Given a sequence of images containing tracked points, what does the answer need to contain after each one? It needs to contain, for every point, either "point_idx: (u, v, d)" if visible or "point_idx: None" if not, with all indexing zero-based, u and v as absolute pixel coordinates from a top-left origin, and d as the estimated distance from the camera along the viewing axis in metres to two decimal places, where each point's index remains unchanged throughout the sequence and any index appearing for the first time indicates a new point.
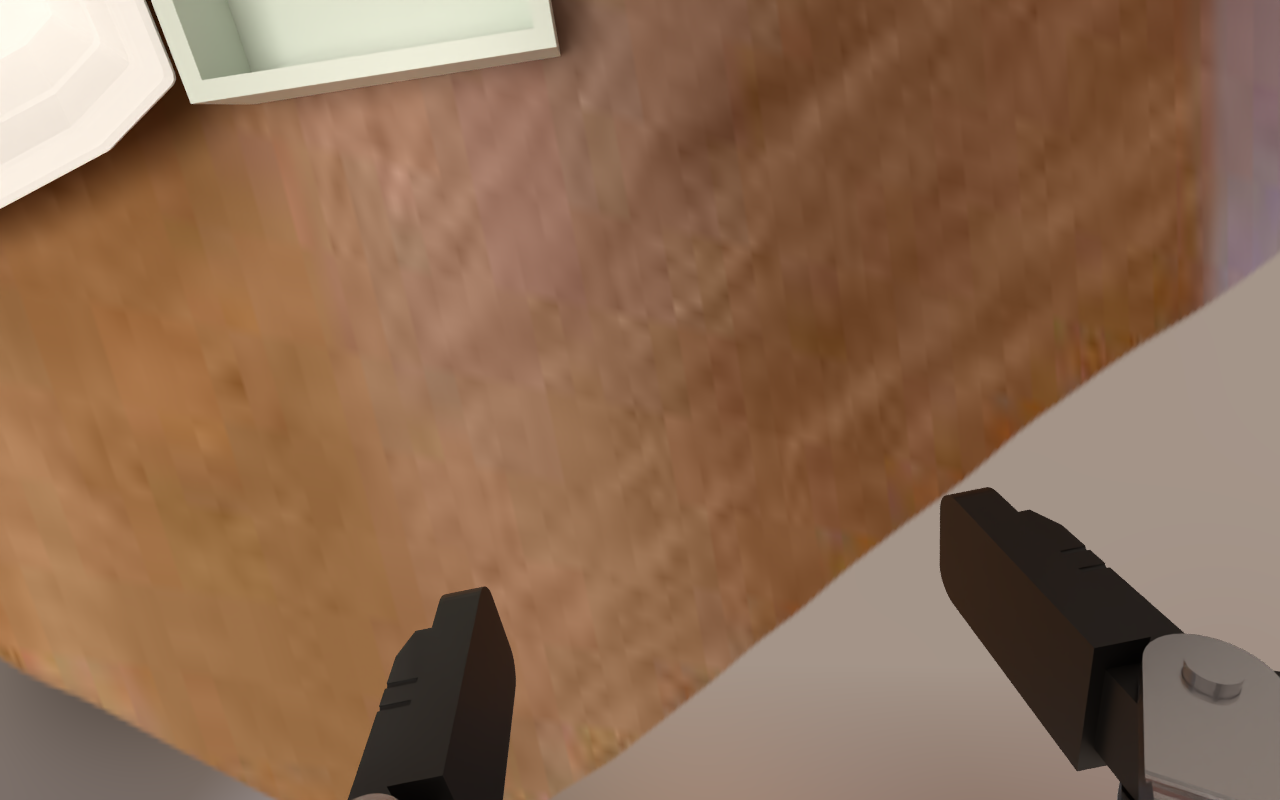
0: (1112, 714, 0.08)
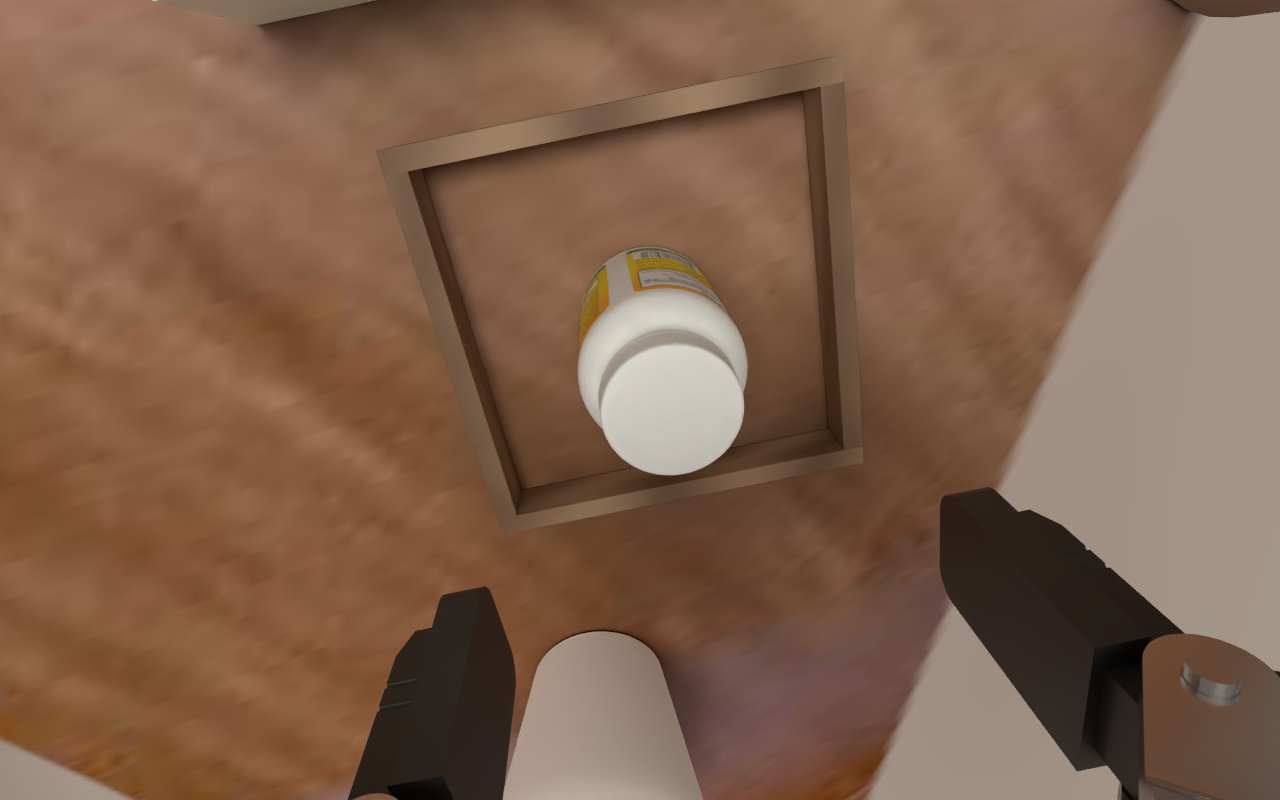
0: (1112, 714, 0.08)
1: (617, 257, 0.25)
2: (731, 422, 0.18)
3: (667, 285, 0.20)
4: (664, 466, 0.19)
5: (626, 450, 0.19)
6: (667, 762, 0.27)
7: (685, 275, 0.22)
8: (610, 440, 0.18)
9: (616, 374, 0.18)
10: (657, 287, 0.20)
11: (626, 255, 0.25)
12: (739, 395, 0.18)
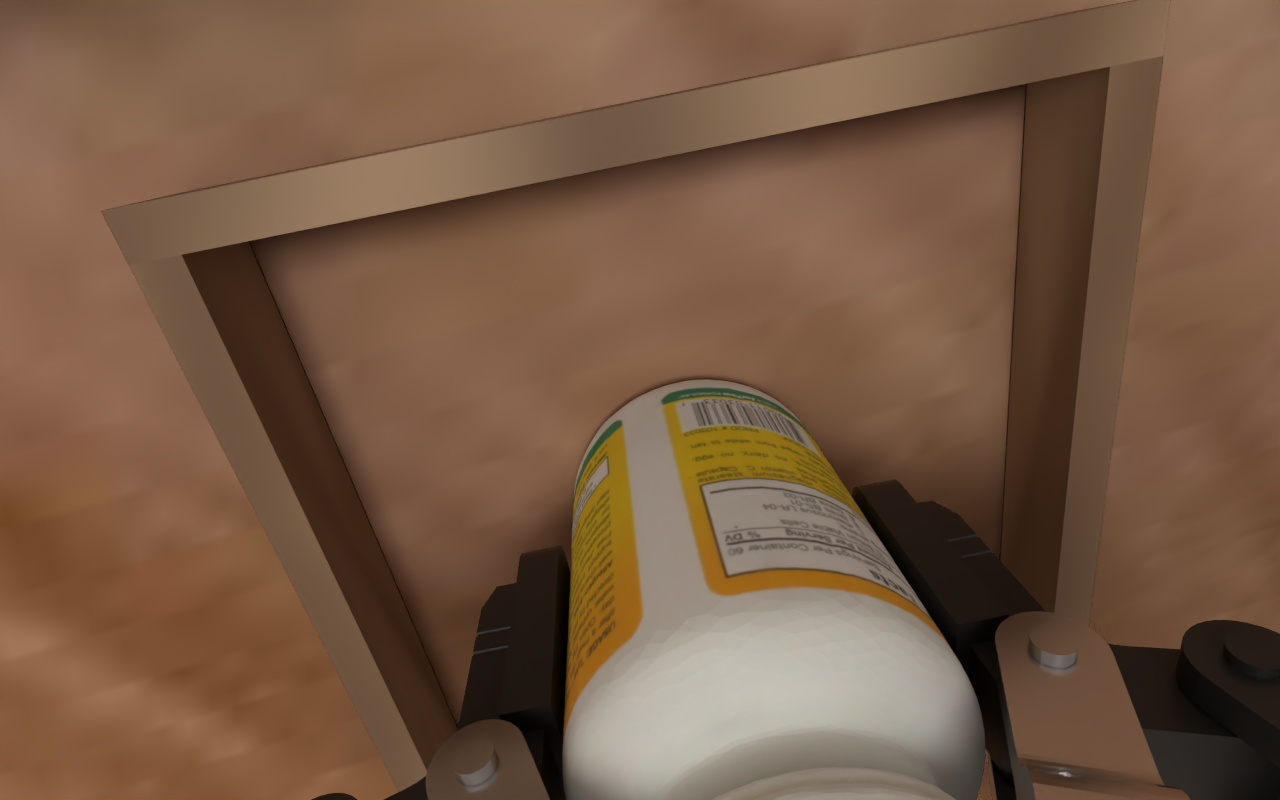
0: (977, 686, 0.09)
1: (645, 407, 0.13)
2: None
3: (793, 573, 0.08)
4: None
5: None
6: None
7: (810, 496, 0.10)
8: None
9: None
10: (768, 581, 0.08)
11: (664, 407, 0.12)
12: None
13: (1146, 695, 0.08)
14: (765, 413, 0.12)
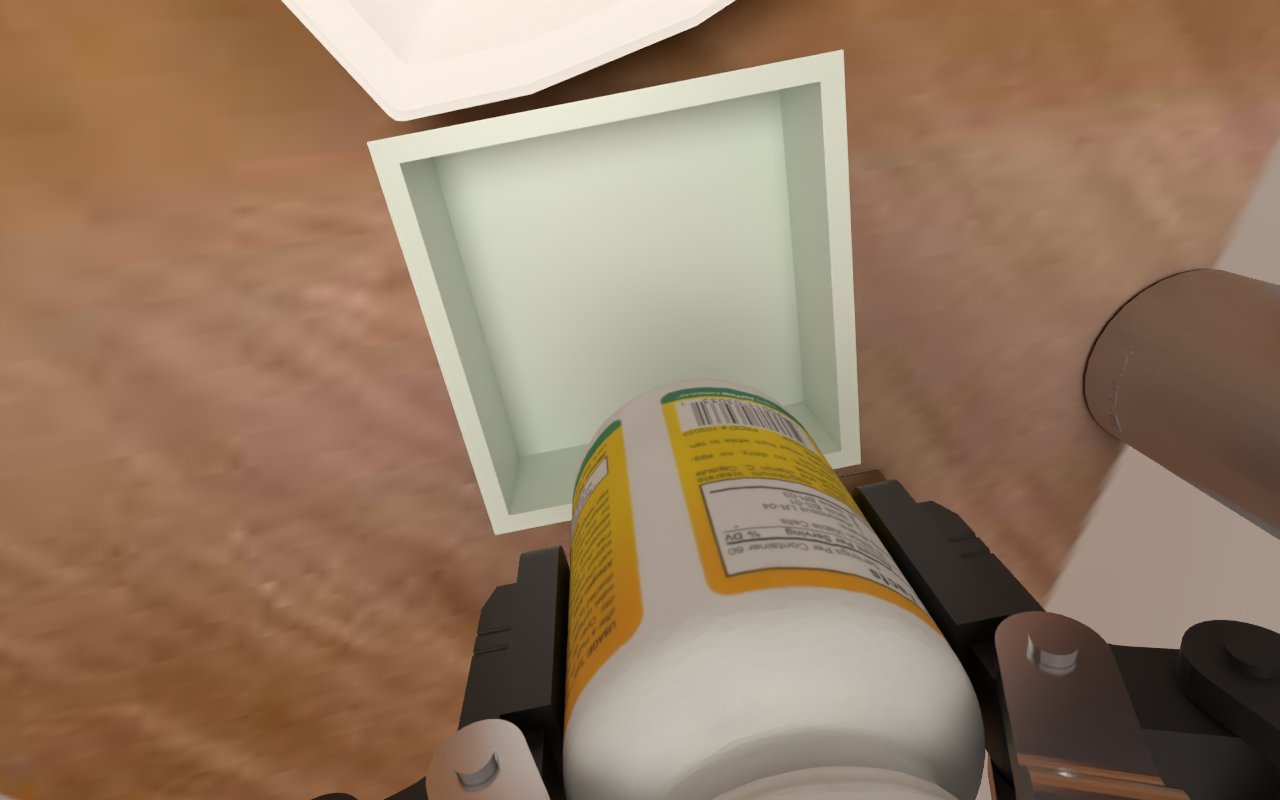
0: (976, 686, 0.09)
1: (644, 406, 0.13)
2: None
3: (793, 572, 0.08)
4: None
5: None
6: None
7: (810, 496, 0.10)
8: None
9: None
10: (769, 580, 0.08)
11: (663, 407, 0.12)
12: None
13: (1146, 695, 0.08)
14: (764, 413, 0.12)
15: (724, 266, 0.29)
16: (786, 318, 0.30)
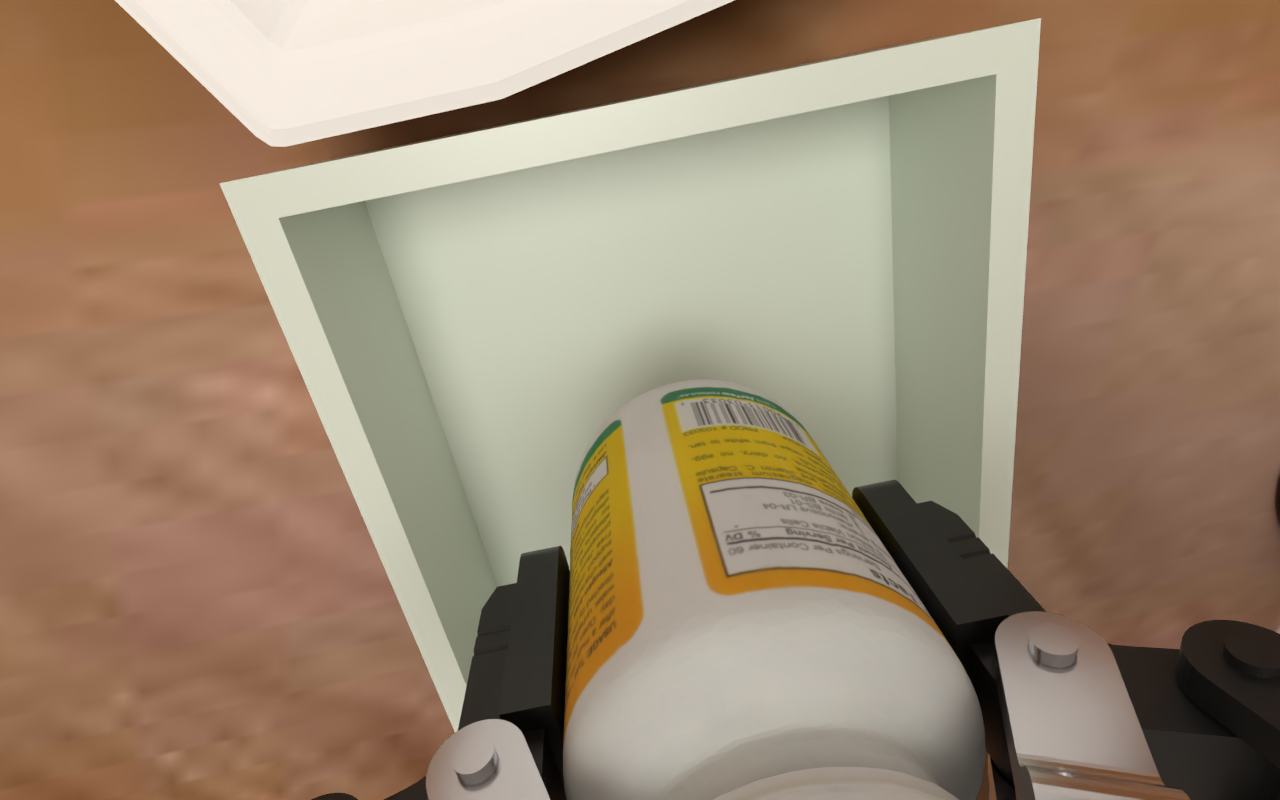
0: (976, 686, 0.09)
1: (644, 406, 0.13)
2: None
3: (794, 572, 0.08)
4: None
5: None
6: None
7: (810, 496, 0.10)
8: None
9: None
10: (769, 580, 0.08)
11: (662, 407, 0.12)
12: None
13: (1145, 695, 0.08)
14: (764, 412, 0.12)
15: (794, 346, 0.20)
16: (880, 415, 0.21)
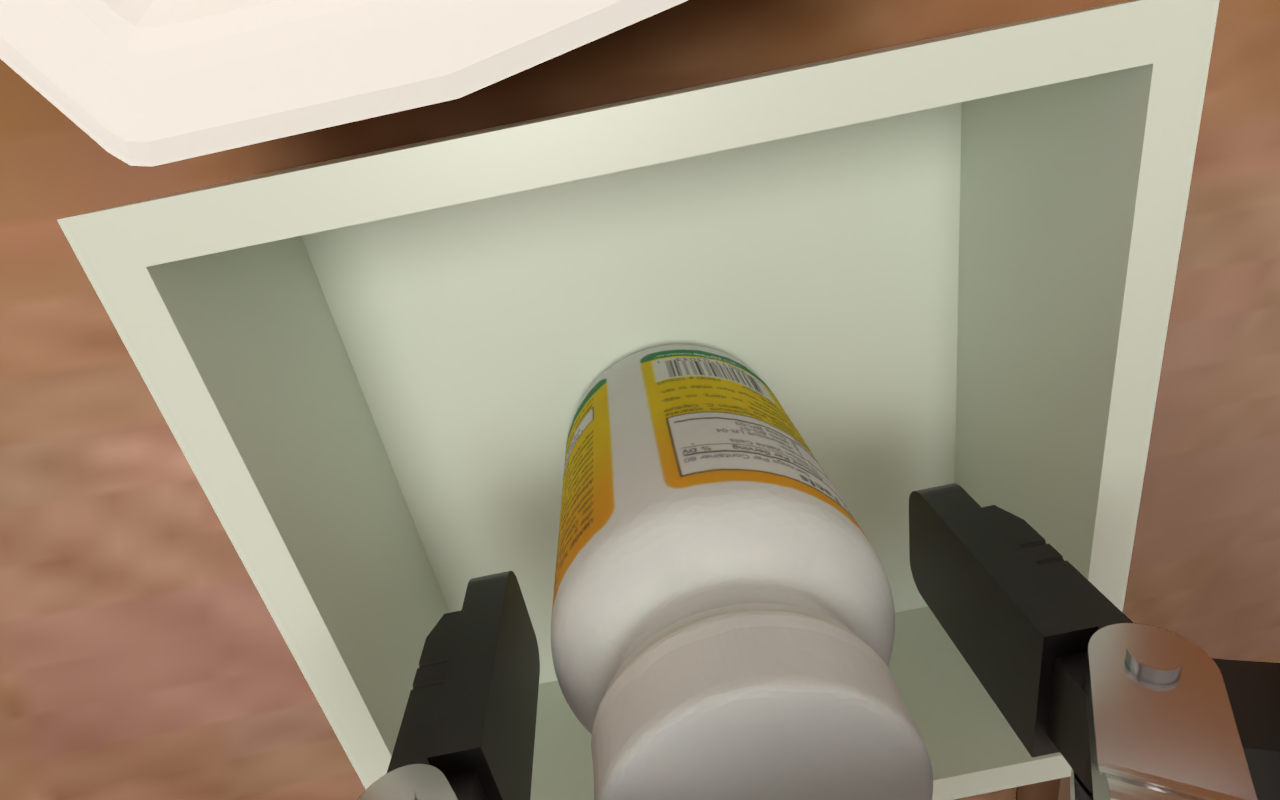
0: (1062, 701, 0.08)
1: (626, 366, 0.15)
2: None
3: (734, 472, 0.10)
4: None
5: None
6: None
7: (758, 425, 0.11)
8: None
9: (634, 751, 0.07)
10: (713, 477, 0.10)
11: (641, 365, 0.14)
12: (925, 775, 0.08)
13: (1254, 712, 0.07)
14: (729, 369, 0.14)
15: (835, 400, 0.16)
16: (935, 479, 0.18)
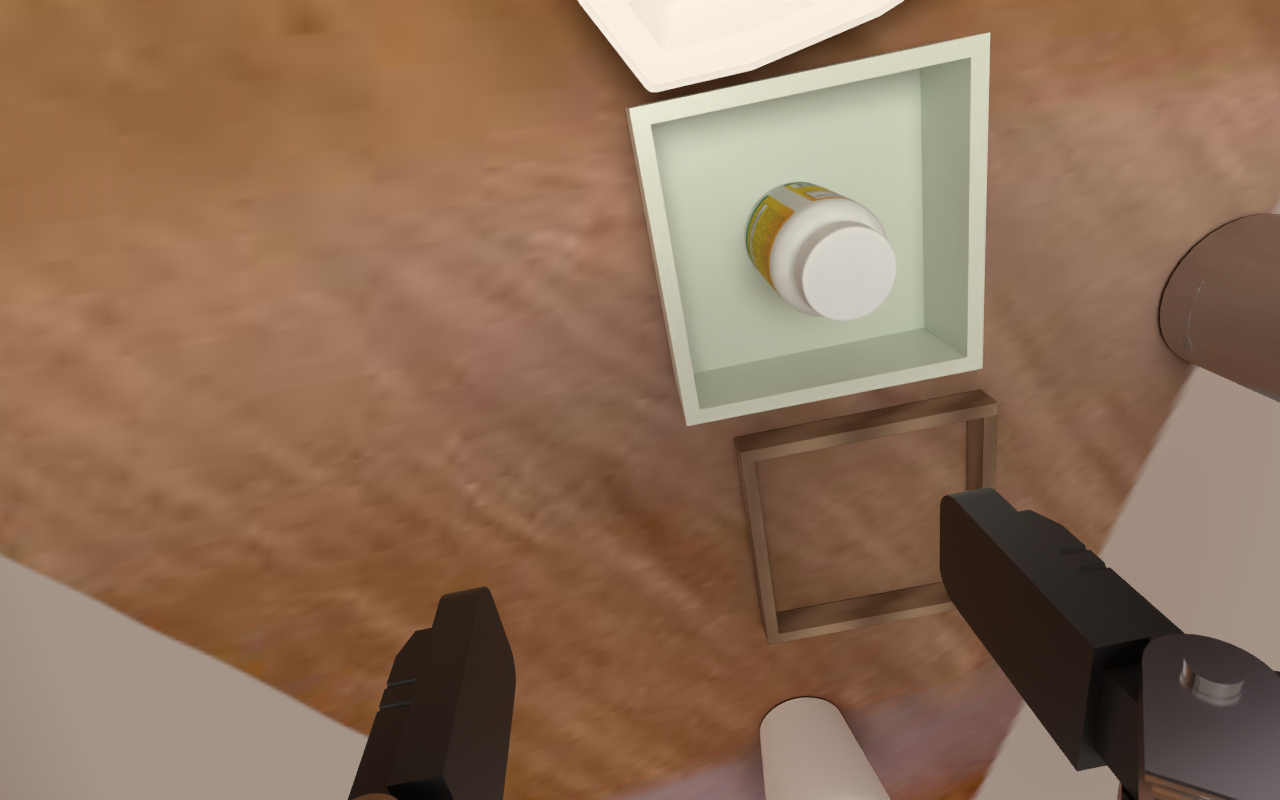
0: (1112, 714, 0.08)
1: (777, 189, 0.34)
2: (888, 282, 0.28)
3: (835, 197, 0.29)
4: (840, 314, 0.28)
5: (817, 302, 0.28)
6: (876, 785, 0.45)
7: None
8: (806, 295, 0.28)
9: (816, 247, 0.27)
10: (828, 197, 0.29)
11: (785, 186, 0.34)
12: (894, 262, 0.27)
13: None
14: None
15: None
16: (913, 256, 0.37)
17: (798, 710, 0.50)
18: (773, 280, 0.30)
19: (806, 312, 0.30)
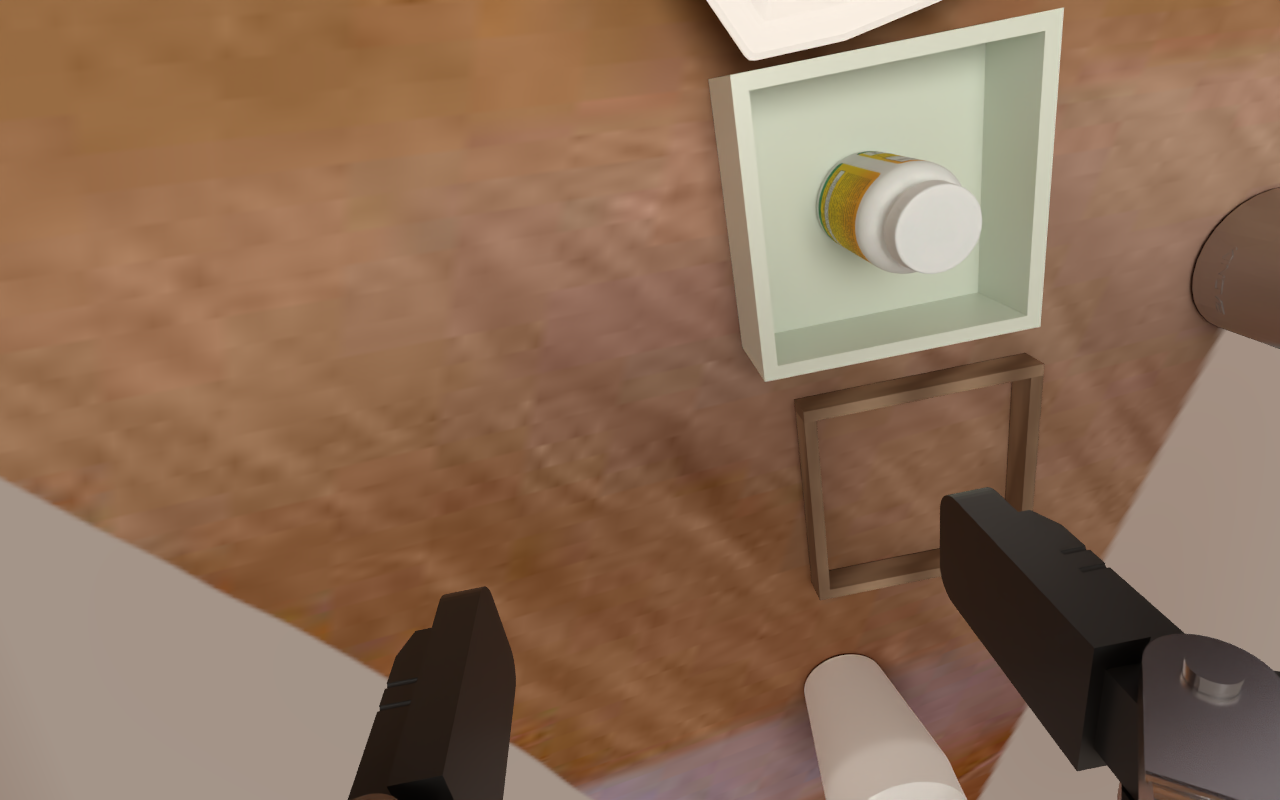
0: (1112, 714, 0.08)
1: (850, 157, 0.36)
2: (973, 236, 0.30)
3: (918, 159, 0.31)
4: (928, 267, 0.30)
5: (907, 255, 0.30)
6: (924, 731, 0.47)
7: None
8: (898, 249, 0.30)
9: (909, 203, 0.29)
10: (913, 160, 0.31)
11: (859, 154, 0.36)
12: (980, 218, 0.30)
13: None
14: None
15: None
16: None
17: (843, 666, 0.53)
18: (858, 238, 0.32)
19: (888, 268, 0.33)
